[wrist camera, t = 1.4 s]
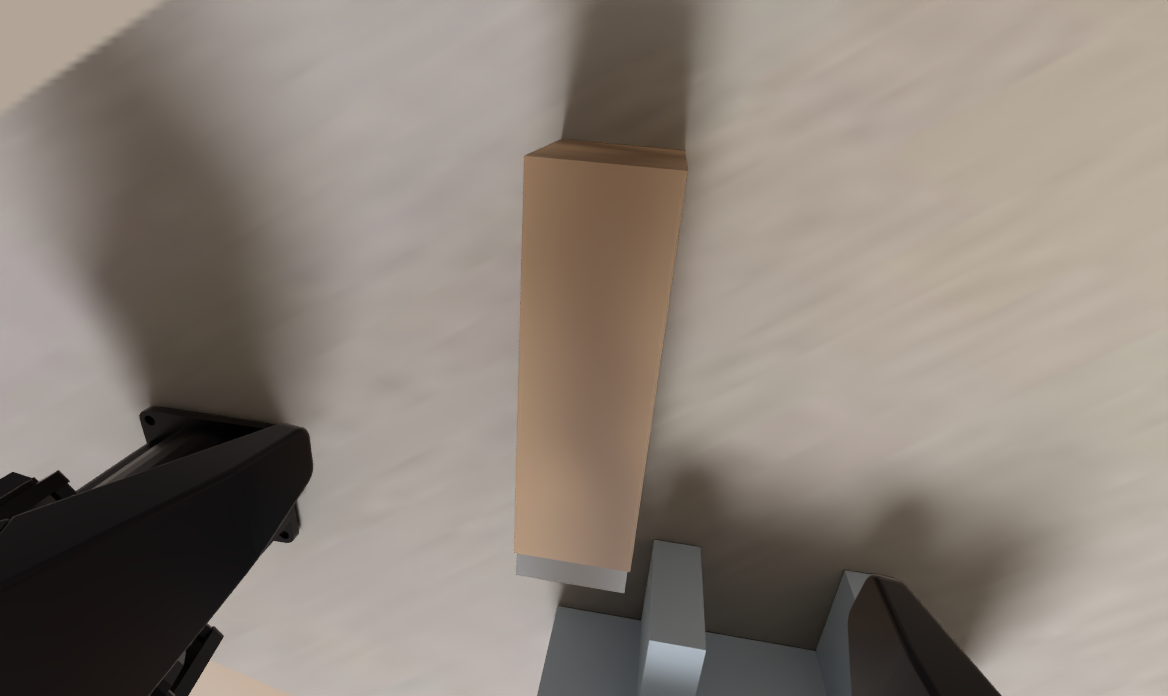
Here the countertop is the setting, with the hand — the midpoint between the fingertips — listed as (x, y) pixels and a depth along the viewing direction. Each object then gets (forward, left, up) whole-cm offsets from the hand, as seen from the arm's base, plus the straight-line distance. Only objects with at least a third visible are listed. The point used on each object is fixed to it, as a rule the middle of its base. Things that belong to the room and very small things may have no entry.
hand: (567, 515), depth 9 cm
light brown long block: (-1, -3, -12) cm, 13 cm away
